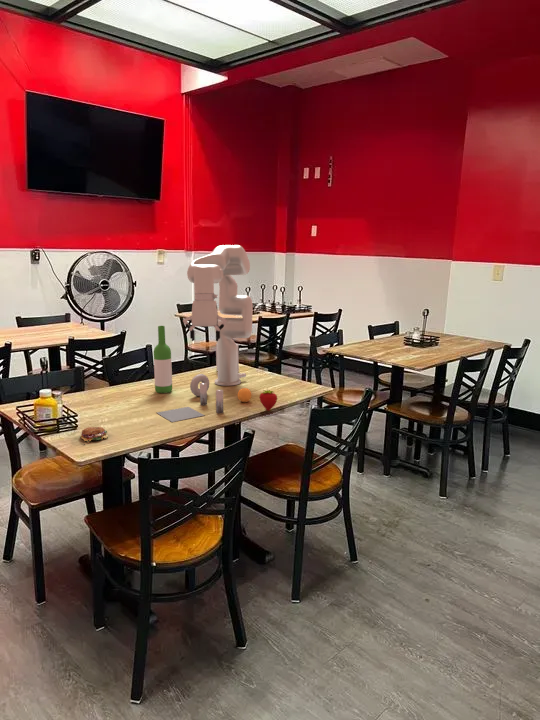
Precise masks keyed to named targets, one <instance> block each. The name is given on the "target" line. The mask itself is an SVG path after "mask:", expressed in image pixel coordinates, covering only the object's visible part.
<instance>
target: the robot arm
mask: <svg viewBox="0 0 540 720" xmlns="http://www.w3.org/2000/svg"><path fill="white" fill-rule="evenodd" d="M250 270H251V263H250V260H249V256H248V255H247V252H246V250H245V248H244V247H243V246H242V245H239V244H234V245H233V244H232V245H231V244H225V245H224V244H222V245H218V246H216V247H215V248H214V249H213V250H212V251H211V253H209V254H207V255H204V256H201V257H199V258H196V259H194V260H193V261H191V263H190V264H189V266H188V268H187V271H186V276H187V280H188V281H189V282H190V283H192V284H194V286H193V287H194V300H193V302H192V307H191V315H189V316H188V317H186V318H184V319H183V320H182V322H183V325H184V326H185V327H186V329H188V330H189V335H190V336H189V338H190V339H191V342H194V341H195V340H196V339H195V338H196V337H195V330H194V329H195V328H196V327H213V328H214V331H215V341H216V344H217V362H218V372H217V378H215V379H214V384H215V385H217V386H225V387H228V386H229V387H231V386H237V385H240V384H241V378H246V376H247V374H246V373H245V372H243V373H240V372H237V346H236V344H237V343H236V342H235V340H234V339H249V338H250V337H251V336H252V332H253V311H254V310H253V307H254V306H253V305H254V304H253V300H252V297H250V296H249V295H247V294H238V283H237V281H236V280H235V279H234V277H233V276H245V275H248V274H249V272H250ZM214 284H218V285H219V294H215V290H214V289H215V288H214V287H215V285H214ZM218 295H219V296H218ZM215 299H218V304H217V301H216V300H215ZM218 310H219V312H218ZM218 313H220V314H221V315H226V316H241V317H222V316H220V315H219V314H218ZM188 321H191V325H190V324H189V322H188Z"/></svg>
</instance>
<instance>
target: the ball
mask: <svg viewBox="0 0 540 720" xmlns="http://www.w3.org/2000/svg"><path fill="white" fill-rule="evenodd" d="M252 396H253V395H252V392H251V390H250V389H249V388H246V387H243V388H241V389H239V390H238V392H237V399H238V400H239V401H240V402H241V403H248V402H249V401H251V399H252Z"/></svg>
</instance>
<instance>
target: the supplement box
mask: <svg viewBox="0 0 540 720" xmlns="http://www.w3.org/2000/svg"><path fill="white" fill-rule="evenodd" d="M235 344H236V346H237V373H240V369H239V368H240V364H239V344H237V343H235ZM215 356H216V357H215V361H216V363H215V364H216V366H215V367H216V372H217V371H218V362H217V343H216V344H215Z"/></svg>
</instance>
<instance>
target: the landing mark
mask: <svg viewBox="0 0 540 720" xmlns="http://www.w3.org/2000/svg"><path fill="white" fill-rule="evenodd" d="M156 414H158V415H159V416H161V417H162V418H164V419H166V420H167V421H169V422H171V423H175V422H180V421H185V420H191V419H195V418H200V417H205V416H206V415H205V414H204V413H201V412H200V411H197V410H195V409H194V408H192V407H190V406H186V407H185V406H183V407H179V408H175V409H174V408H173V409H169V410H162V411H157V412H156Z"/></svg>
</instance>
